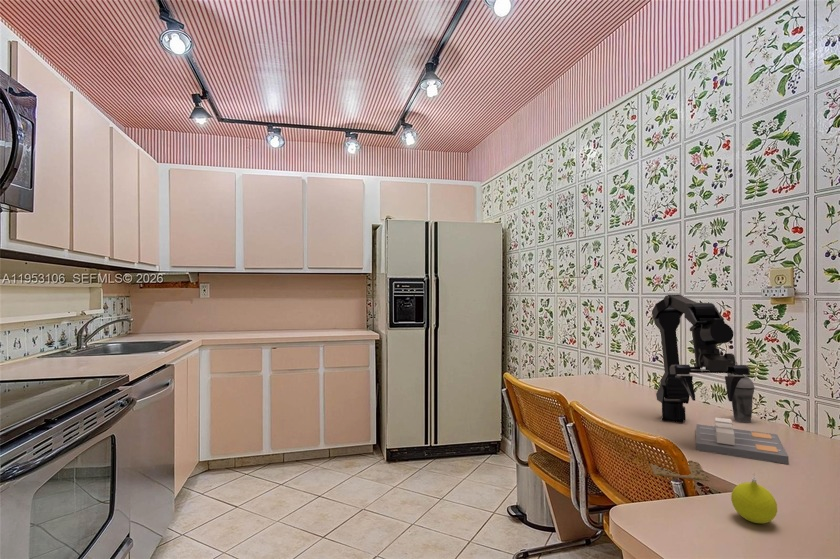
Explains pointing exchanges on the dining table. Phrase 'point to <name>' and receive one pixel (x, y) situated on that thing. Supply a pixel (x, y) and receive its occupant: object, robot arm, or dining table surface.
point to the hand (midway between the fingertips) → (712, 401)
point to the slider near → (725, 436)
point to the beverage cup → (743, 400)
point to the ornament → (754, 502)
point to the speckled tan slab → (695, 474)
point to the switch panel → (743, 444)
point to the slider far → (723, 421)
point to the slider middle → (724, 426)
